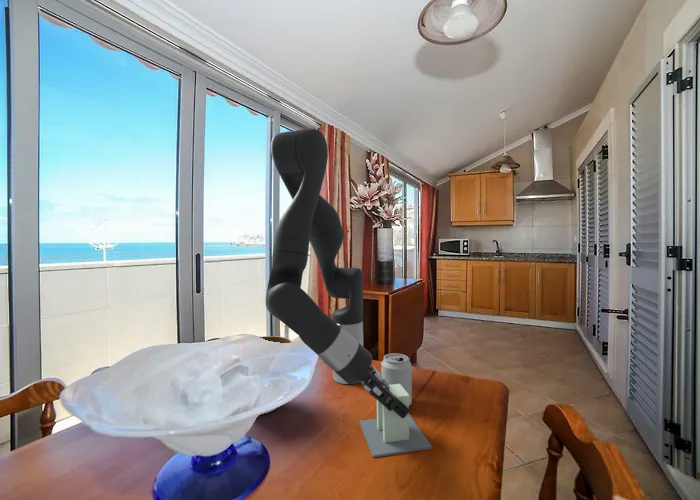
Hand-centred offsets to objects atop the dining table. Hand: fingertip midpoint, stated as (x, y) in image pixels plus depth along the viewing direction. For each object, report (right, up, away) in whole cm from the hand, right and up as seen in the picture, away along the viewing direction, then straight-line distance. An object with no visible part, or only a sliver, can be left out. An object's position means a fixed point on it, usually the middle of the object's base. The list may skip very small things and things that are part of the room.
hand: (399, 404), depth 67 cm
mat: (-1, -6, 0) cm, 6 cm away
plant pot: (-32, -7, +12) cm, 35 cm away
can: (+1, -6, +13) cm, 14 cm away
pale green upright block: (-2, -6, 0) cm, 6 cm away
